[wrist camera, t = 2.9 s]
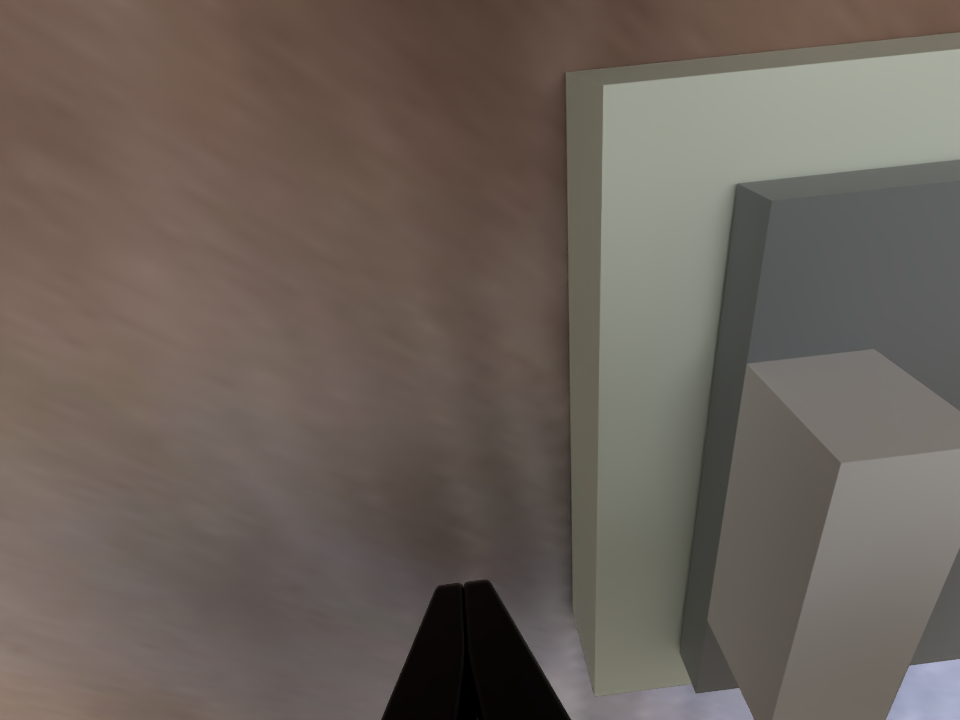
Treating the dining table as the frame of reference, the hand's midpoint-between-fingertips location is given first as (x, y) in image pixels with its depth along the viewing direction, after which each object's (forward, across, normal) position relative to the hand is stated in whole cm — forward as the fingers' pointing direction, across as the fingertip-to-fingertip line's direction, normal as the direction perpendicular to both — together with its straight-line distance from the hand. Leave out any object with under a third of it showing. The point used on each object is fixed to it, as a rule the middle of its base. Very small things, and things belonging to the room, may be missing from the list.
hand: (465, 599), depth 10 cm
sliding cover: (+2, -10, 0) cm, 10 cm away
